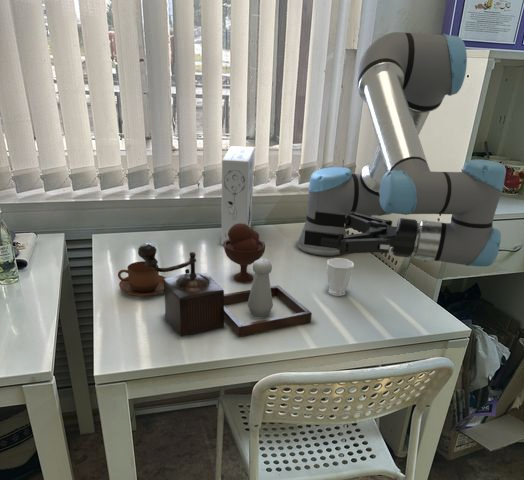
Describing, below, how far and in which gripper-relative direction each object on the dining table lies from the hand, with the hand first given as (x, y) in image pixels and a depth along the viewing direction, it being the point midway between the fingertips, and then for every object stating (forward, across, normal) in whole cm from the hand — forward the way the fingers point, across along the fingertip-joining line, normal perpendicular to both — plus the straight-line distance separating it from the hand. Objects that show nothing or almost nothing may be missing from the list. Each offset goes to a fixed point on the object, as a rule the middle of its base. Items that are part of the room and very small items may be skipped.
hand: (310, 226), depth 107 cm
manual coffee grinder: (+25, -10, -22) cm, 35 cm away
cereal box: (+30, +52, -22) cm, 64 cm away
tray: (+10, 0, -22) cm, 24 cm away
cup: (-5, +19, -22) cm, 30 cm away
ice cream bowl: (+19, +19, -22) cm, 34 cm away
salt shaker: (+10, 0, -22) cm, 24 cm away
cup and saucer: (+40, +3, -22) cm, 46 cm away
